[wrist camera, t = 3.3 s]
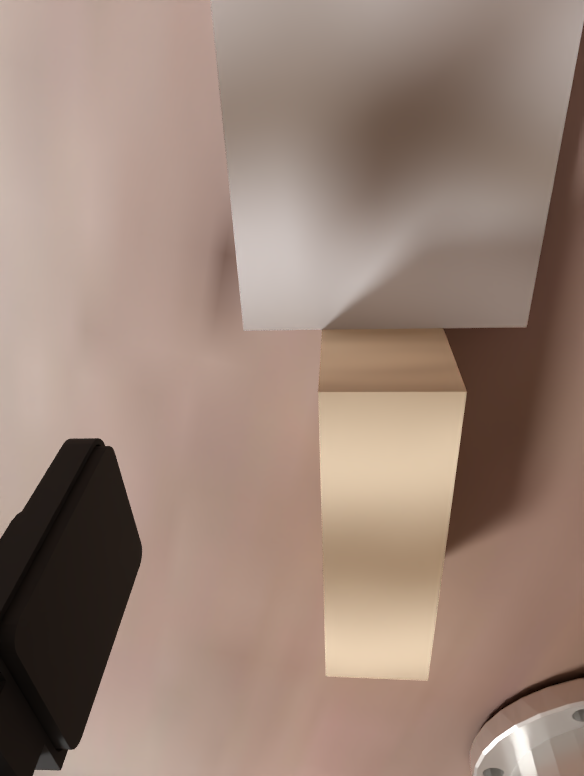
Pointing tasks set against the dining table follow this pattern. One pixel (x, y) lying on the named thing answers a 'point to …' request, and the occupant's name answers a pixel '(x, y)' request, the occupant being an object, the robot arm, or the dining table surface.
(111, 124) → the dining table surface
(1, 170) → the dining table surface
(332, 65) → the turner
